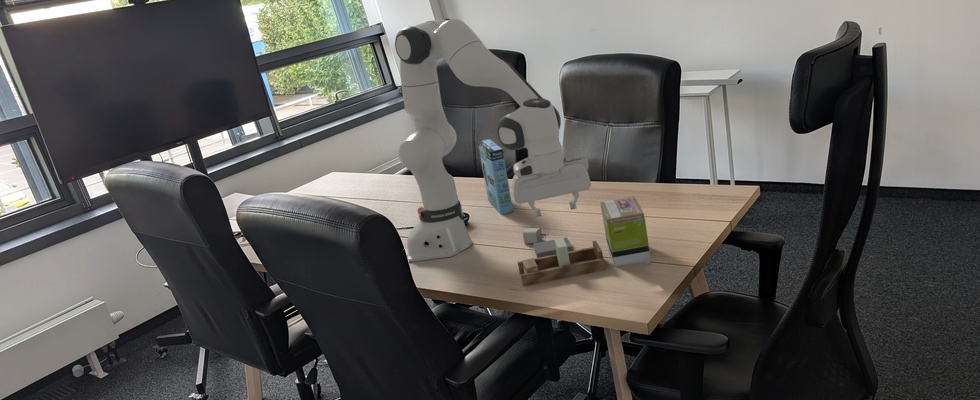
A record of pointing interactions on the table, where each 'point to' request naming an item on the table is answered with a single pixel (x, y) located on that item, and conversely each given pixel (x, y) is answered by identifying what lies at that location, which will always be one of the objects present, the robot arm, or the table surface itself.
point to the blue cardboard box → (495, 176)
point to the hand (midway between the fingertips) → (555, 212)
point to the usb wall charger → (533, 235)
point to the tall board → (562, 252)
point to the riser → (549, 248)
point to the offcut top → (530, 265)
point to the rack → (550, 269)
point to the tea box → (625, 231)
